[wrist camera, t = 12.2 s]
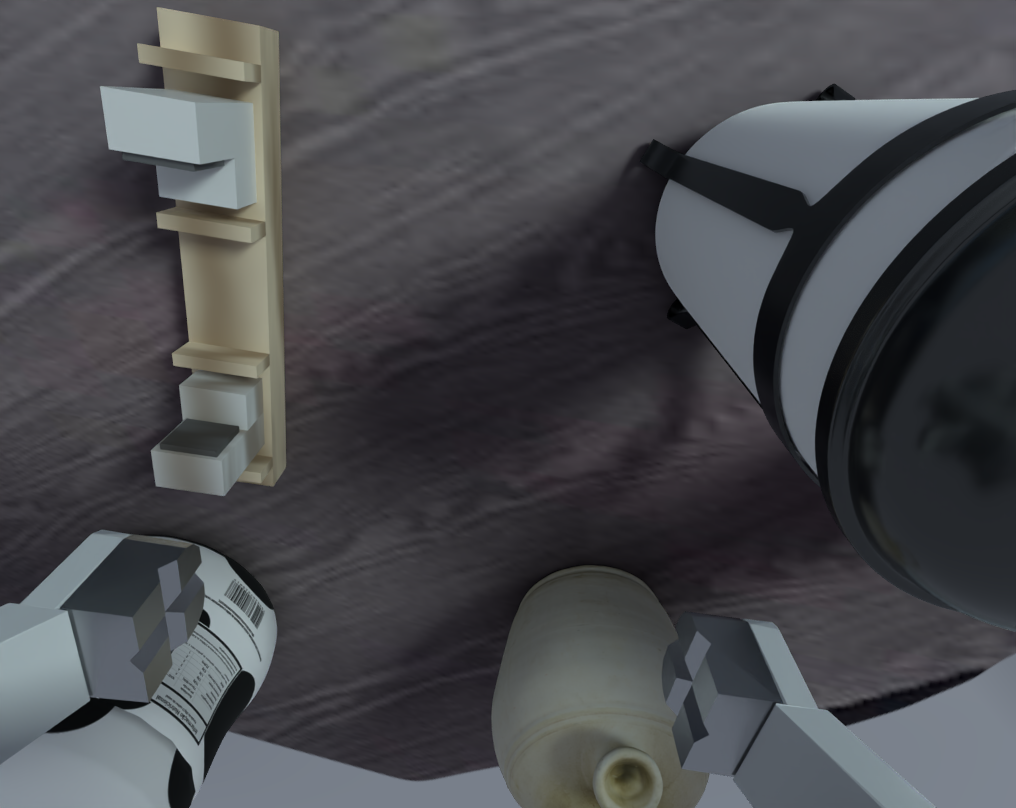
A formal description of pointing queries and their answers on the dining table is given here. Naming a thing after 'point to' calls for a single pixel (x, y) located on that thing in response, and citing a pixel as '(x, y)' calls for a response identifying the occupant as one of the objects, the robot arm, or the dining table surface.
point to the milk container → (157, 712)
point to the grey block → (186, 142)
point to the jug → (589, 697)
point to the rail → (227, 272)
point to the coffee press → (869, 316)
